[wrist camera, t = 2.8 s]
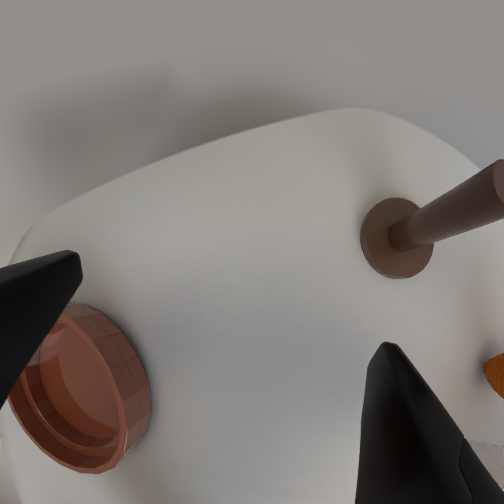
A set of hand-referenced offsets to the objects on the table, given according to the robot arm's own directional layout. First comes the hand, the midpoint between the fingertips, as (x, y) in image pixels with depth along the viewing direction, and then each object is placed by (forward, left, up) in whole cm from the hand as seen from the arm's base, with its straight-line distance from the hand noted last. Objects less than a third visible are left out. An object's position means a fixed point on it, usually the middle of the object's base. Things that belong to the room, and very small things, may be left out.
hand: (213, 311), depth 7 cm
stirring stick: (-3, -11, -13) cm, 18 cm away
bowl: (+3, +17, -13) cm, 22 cm away
